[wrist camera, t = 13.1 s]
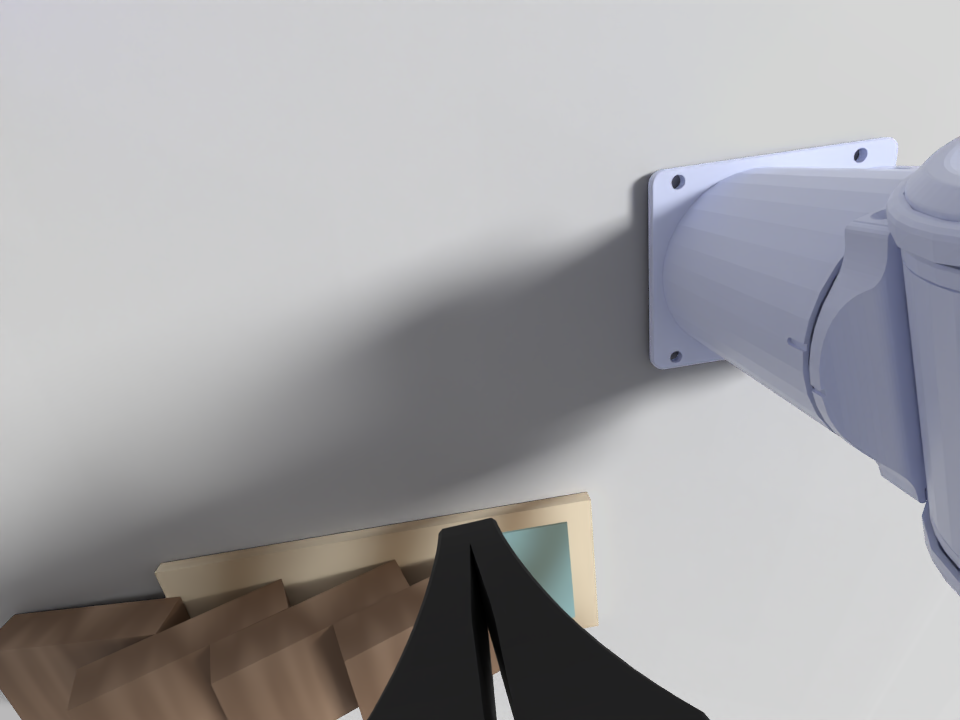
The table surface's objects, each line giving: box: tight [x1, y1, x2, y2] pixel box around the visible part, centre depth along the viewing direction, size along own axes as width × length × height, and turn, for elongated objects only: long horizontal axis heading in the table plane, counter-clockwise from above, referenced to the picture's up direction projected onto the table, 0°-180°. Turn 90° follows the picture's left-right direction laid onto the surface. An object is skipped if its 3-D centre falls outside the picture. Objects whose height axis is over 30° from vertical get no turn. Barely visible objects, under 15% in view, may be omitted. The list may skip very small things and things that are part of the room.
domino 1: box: [0, 597, 191, 720], centre depth 24 cm, size 2×5×8 cm
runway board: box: [155, 492, 598, 628], centre depth 25 cm, size 20×8×1 cm, turn 98°
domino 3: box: [210, 560, 410, 720], centre depth 23 cm, size 2×5×8 cm
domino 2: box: [67, 579, 291, 720], centre depth 22 cm, size 2×5×8 cm
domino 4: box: [333, 577, 500, 720], centre depth 23 cm, size 2×5×8 cm
